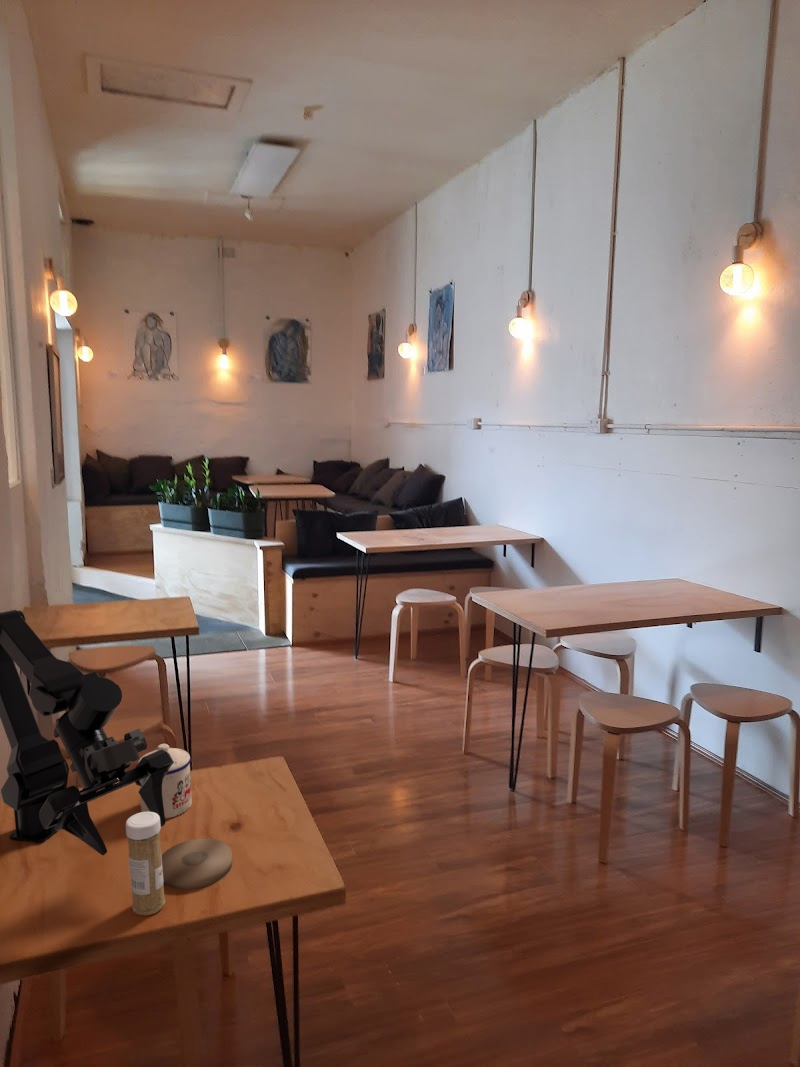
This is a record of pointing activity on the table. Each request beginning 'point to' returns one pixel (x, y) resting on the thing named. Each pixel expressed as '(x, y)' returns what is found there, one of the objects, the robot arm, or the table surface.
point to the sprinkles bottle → (145, 862)
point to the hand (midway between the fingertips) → (135, 839)
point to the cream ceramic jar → (174, 783)
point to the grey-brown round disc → (196, 863)
